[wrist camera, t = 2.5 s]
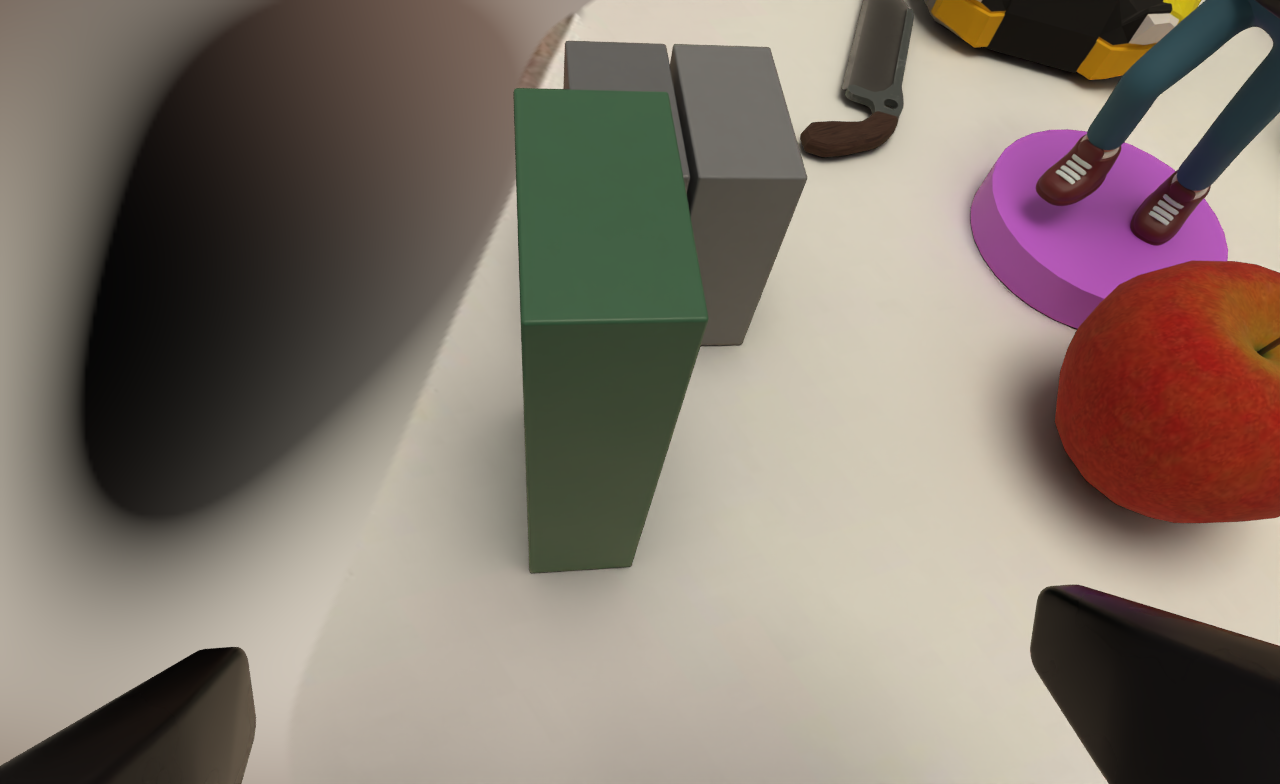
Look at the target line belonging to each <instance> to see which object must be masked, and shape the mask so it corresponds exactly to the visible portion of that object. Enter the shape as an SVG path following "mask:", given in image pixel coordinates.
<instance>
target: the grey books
mask: <svg viewBox="0 0 1280 784" xmlns="http://www.w3.org/2000/svg"><path fill="white" fill-rule="evenodd" d="M564 89H572V90H613V91H655V92H667V93H668V94H669V99H670V104H671V110H672V116H673V121H674V127H675V132H676V138H677V144H678V149H679V155H680V160H681V166H682V172H683V177H684V183H685V188H686V194H687V200H688V205H689V211H690V216H691V222H692V228H693V233H694V239H695V244H696V250H697V256H698V261H699V267H700V272H701V278H702V284H703V289H704V295H705V300H706V306H707V312H708V317H709V320H708V323H707V326H706V330H705V333H704V336H703V339H702V342H701V345H739V344H742V343H743V340H744V338H745V335H746V333H747V330H748V328H749V325H750V322H751V320H752V317H753V315H754V312H755V310H756V307H757V305H758V302H759V300H760V297H761V295H762V292H763V290H764V287H765V284H766V282H767V279H768V277H769V274H770V272H771V269H772V267H773V264H774V262H775V259H776V257H777V254H778V251H779V249H780V246H781V244H782V241H783V239H784V236H785V234H786V231H787V229H788V226H789V224H790V221H791V219H792V216H793V213H794V211H795V208H796V206H797V203H798V201H799V198H800V196H801V193H802V191H803V188H804V186H805V183H806V180H807V175H806V171H805V168H804V164H803V161H802V157H801V154H800V150H799V147H798V143H797V140H796V136H795V133H794V130H793V126H792V123H791V119H790V116H789V112H788V109H787V105H786V102H785V98H784V95H783V91H782V88H781V84H780V81H779V77H778V74H777V70H776V67H775V63H774V60H773V56H772V53H771V49H770V48H769V47H748V46H718V45H688V44H674V46H673V50H672V56H671V62H670V64H669V59H668V53H667V48H666V45H665V44H649V43H619V42H589V41H566V43H565V60H564Z"/></svg>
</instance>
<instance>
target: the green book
mask: <svg viewBox="0 0 1280 784" xmlns="http://www.w3.org/2000/svg"><path fill="white" fill-rule="evenodd" d="M514 124H515V152H516V153H515V155H516V187H517V218H518V250H519V281H520V312H521V342H522V371H523V400H524V428H525V457H526V486H527V515H528V543H529V571H530V573H541V572H556V571H571V570H587V569H602V568H617V567H630V566H631V565H632V562H633V559H634V555H635V552H636V549H637V546H638V543H639V539H640V536H641V533H642V530H643V527H644V524H645V520H646V517H647V514H648V511H649V508H650V505H651V501H652V498H653V495H654V492H655V489H656V485H657V482H658V479H659V476H660V473H661V470H662V466H663V463H664V460H665V457H666V454H667V450H668V447H669V444H670V441H671V438H672V435H673V431H674V428H675V425H676V422H677V419H678V415H679V412H680V409H681V406H682V403H683V400H684V396H685V393H686V390H687V387H688V384H689V381H690V377H691V374H692V371H693V368H694V365H695V361H696V358H697V355H698V352H699V349H700V346H701V342H702V339H703V336H704V333H705V330H706V326H707V323H708V320H709V317H708V312H707V306H706V300H705V295H704V289H703V284H702V278H701V272H700V267H699V261H698V256H697V250H696V244H695V239H694V233H693V228H692V222H691V216H690V211H689V205H688V200H687V194H686V188H685V183H684V177H683V172H682V166H681V160H680V155H679V149H678V144H677V138H676V132H675V127H674V121H673V116H672V110H671V104H670V99H669V94H668V93H667V92H655V91H613V90H572V89H530V88H516V89H515V90H514Z"/></svg>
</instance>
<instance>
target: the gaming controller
mask: <svg viewBox="0 0 1280 784" xmlns="http://www.w3.org/2000/svg"><path fill="white" fill-rule="evenodd" d="M924 2H925V4H926V5H927V7H928V10H929V13H930V14H931V16H932V17H933V18H934V20H935V21H936V22H938V23H939V24H941V25H943V26H945V27H946V28H948V29H949V30H950V31H952V32H953V33H955V34H956V35H957V36H959V37H960V38H962V39H963V40H965V41H966V42H967V43H969V44H970V45H971V46H973V47H974V48H975V47H986V48H987V49H990V50H994V51H997V52H1001V53H1004V54H1008V55H1012V56H1015V57H1019V58H1022V59H1026V60H1029V61H1033V62H1037V63H1040V64H1044V65H1047V66H1051V67H1054V68H1058V69H1062V70H1065V71H1069V72H1072V73H1075V72H1076V71H1077V72H1078V73H1080V74H1081V75H1083V76H1084V77H1086V78H1087V79H1089V80H1096V79H1106V78H1111V77H1116V76H1123V75H1124V74H1125V73H1126V72H1127V70H1128V69H1129V68H1130V67H1131V66H1132V65H1133V64H1134V63H1135V62H1137V61H1138V60H1139V59H1140V58H1141V57H1142V56H1143V55H1144V54H1145V53H1146V52H1147V51H1149V50H1150V49H1151V48H1152V47H1153V46H1154V45H1155V44H1156V43H1158V42H1159V41H1160V40H1161V39H1162V38H1163V37H1164V36H1165V35H1166V34H1167V33H1169V32H1170V31H1171V30H1172V29H1173V28H1174V27H1175V26H1176V25H1178V24H1179V23H1180V22H1181V21H1182V20H1183V19H1184V18H1186V17H1187V16H1188V15H1189V14H1190V13H1191V12H1193V11H1194V10H1195V9H1196V8H1197V7H1198V5H1199V3H1200V2H1201V0H924Z"/></svg>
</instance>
